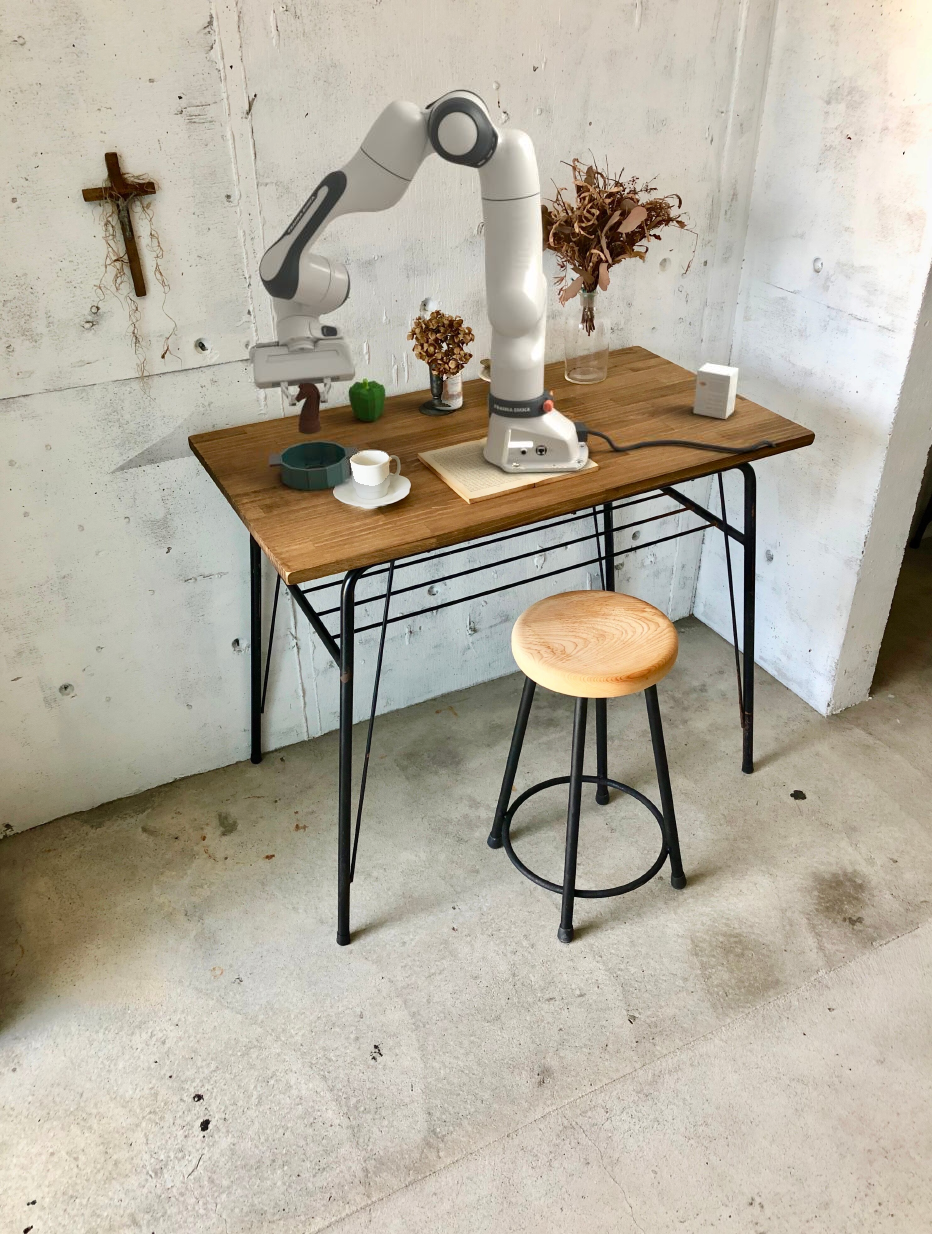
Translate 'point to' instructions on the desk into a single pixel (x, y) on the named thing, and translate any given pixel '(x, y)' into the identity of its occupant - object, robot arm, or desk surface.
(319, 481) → the cooking pot
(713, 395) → the small box
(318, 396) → the chess piece
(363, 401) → the bell pepper
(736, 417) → the desk surface
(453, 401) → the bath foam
